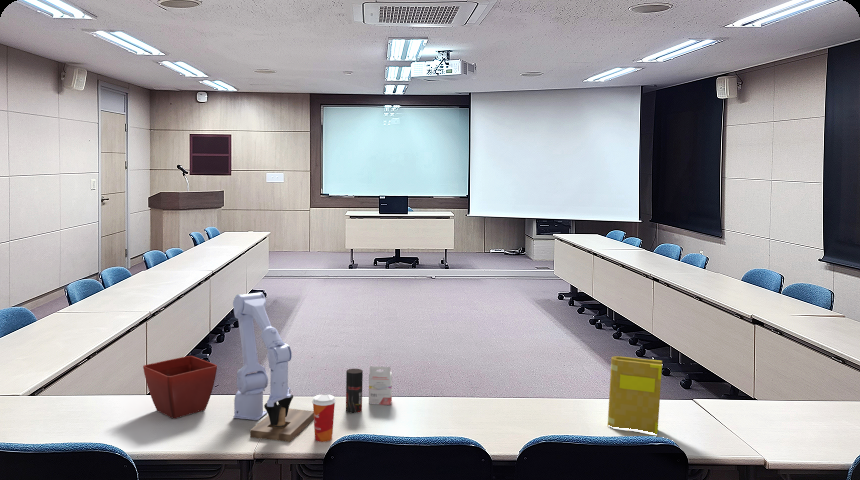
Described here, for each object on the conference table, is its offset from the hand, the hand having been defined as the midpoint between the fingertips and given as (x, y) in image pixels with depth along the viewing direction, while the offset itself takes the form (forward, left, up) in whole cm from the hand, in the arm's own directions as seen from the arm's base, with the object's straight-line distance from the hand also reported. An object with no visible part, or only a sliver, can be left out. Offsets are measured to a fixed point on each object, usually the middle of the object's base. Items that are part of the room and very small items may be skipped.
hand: (279, 420), depth 226 cm
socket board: (0, +4, -4) cm, 6 cm away
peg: (0, 0, -4) cm, 4 cm away
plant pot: (-42, +9, -4) cm, 43 cm away
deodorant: (+18, +26, -4) cm, 32 cm away
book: (+118, +35, -4) cm, 123 cm away
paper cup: (+16, -2, -4) cm, 17 cm away
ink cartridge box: (+25, +37, -4) cm, 45 cm away
